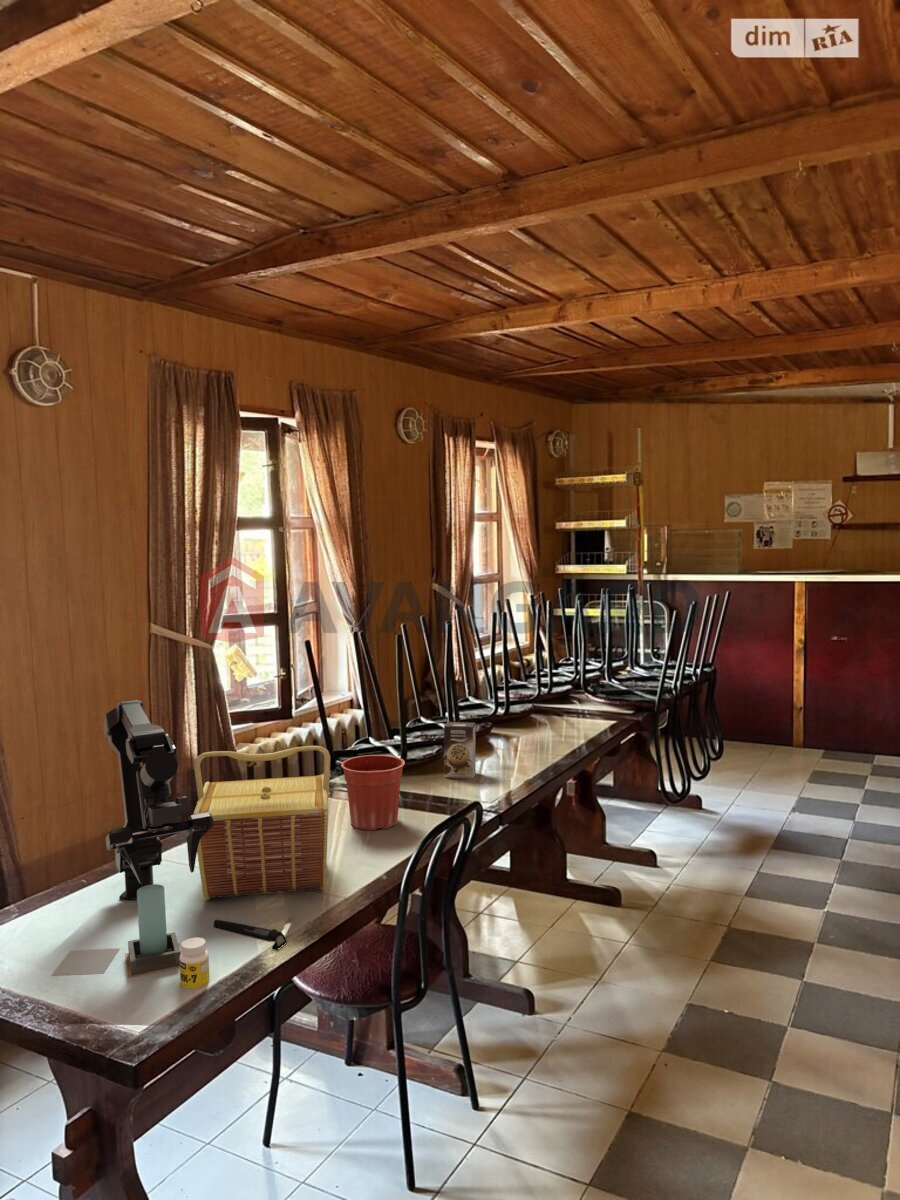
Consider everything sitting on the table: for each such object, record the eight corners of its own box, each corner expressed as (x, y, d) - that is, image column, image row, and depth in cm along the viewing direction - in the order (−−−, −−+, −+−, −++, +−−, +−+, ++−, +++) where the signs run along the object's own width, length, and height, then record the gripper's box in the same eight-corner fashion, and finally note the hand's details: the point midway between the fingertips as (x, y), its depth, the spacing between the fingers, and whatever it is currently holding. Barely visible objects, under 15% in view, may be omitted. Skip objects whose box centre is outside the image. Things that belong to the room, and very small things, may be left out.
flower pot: (397, 809, 242) (395, 751, 241) (413, 829, 227) (412, 767, 225) (337, 816, 237) (335, 758, 236) (350, 837, 222) (348, 774, 220)
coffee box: (444, 777, 271) (443, 726, 270) (447, 771, 277) (446, 721, 276) (473, 778, 269) (472, 726, 268) (476, 772, 276) (475, 721, 274)
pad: (70, 958, 163) (70, 950, 163) (120, 956, 163) (120, 948, 163) (51, 983, 154) (51, 975, 154) (104, 981, 154) (103, 973, 154)
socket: (125, 961, 161) (124, 940, 161) (179, 950, 165) (178, 930, 164) (128, 986, 152) (127, 964, 152) (185, 974, 156) (183, 952, 156)
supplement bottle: (174, 994, 150) (172, 946, 149) (192, 980, 154) (190, 934, 153) (198, 999, 148) (196, 951, 147) (215, 985, 152) (213, 938, 151)
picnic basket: (191, 913, 181) (184, 769, 178) (206, 864, 206) (200, 738, 203) (336, 900, 185) (331, 760, 182) (332, 854, 211) (328, 731, 208)
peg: (147, 953, 161) (143, 884, 160) (171, 953, 161) (168, 884, 159) (136, 966, 156) (132, 895, 155) (161, 966, 156) (158, 895, 155)
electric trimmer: (222, 930, 174) (221, 914, 174) (288, 943, 167) (287, 927, 167) (209, 938, 170) (208, 922, 170) (276, 952, 164) (275, 936, 164)
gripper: (107, 792, 157) (119, 881, 152) (213, 775, 167) (227, 859, 161) (101, 806, 166) (111, 891, 161) (201, 790, 175) (214, 869, 170)
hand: (167, 877), depth 163 cm, fingers open, 9 cm apart
